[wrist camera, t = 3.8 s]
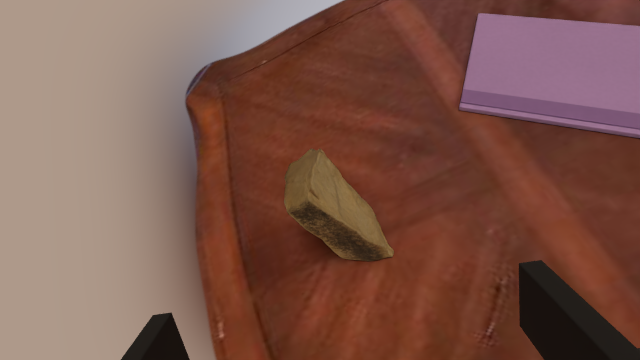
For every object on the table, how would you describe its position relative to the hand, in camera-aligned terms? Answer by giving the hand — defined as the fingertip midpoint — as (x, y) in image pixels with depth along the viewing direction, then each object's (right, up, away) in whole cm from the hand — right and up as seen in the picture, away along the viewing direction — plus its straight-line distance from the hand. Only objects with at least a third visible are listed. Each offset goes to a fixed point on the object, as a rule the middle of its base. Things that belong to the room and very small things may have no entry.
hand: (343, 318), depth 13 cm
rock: (+1, +3, +18) cm, 18 cm away
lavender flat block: (+23, +16, +20) cm, 34 cm away
